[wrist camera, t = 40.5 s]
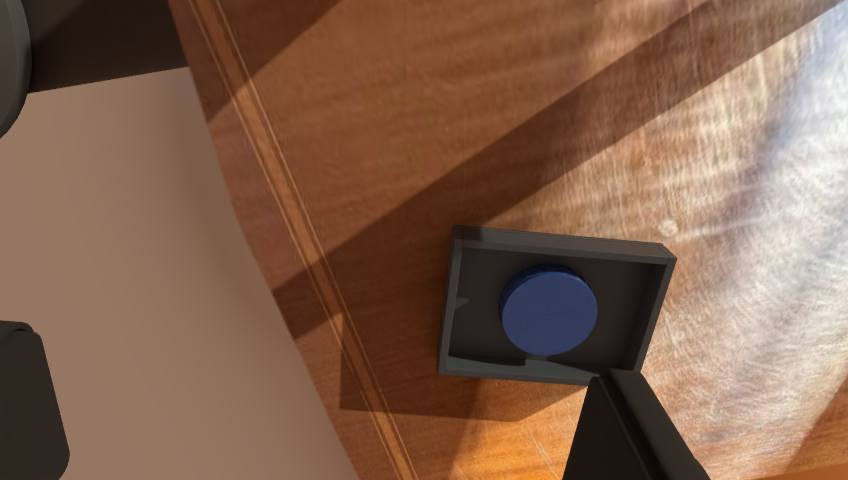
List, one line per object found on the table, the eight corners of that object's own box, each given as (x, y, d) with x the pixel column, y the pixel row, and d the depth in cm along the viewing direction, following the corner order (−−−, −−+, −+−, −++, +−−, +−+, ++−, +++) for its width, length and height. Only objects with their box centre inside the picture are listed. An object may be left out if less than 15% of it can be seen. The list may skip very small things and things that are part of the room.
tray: (436, 354, 40) (437, 374, 38) (453, 224, 36) (454, 238, 33) (623, 369, 40) (634, 389, 38) (661, 243, 36) (677, 258, 34)
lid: (490, 338, 39) (493, 351, 37) (507, 257, 36) (511, 268, 34) (578, 347, 39) (584, 360, 37) (601, 268, 36) (609, 279, 35)
